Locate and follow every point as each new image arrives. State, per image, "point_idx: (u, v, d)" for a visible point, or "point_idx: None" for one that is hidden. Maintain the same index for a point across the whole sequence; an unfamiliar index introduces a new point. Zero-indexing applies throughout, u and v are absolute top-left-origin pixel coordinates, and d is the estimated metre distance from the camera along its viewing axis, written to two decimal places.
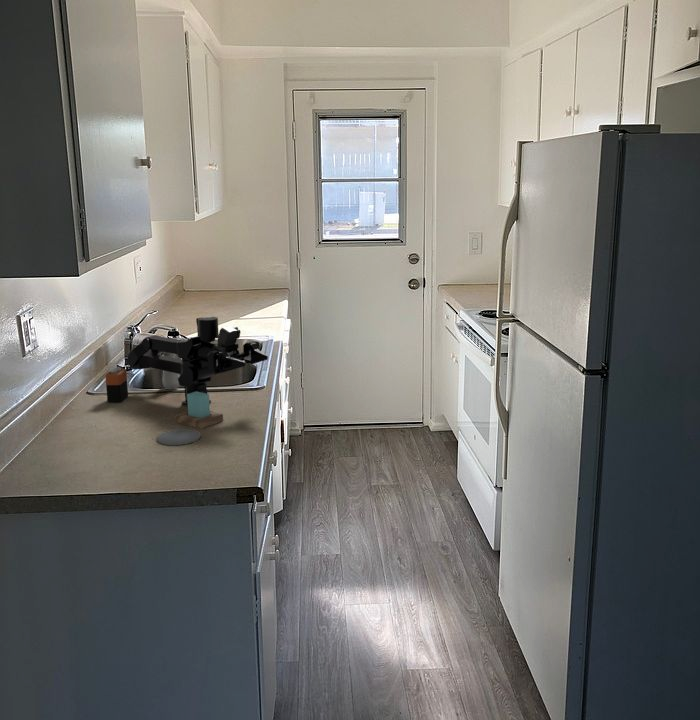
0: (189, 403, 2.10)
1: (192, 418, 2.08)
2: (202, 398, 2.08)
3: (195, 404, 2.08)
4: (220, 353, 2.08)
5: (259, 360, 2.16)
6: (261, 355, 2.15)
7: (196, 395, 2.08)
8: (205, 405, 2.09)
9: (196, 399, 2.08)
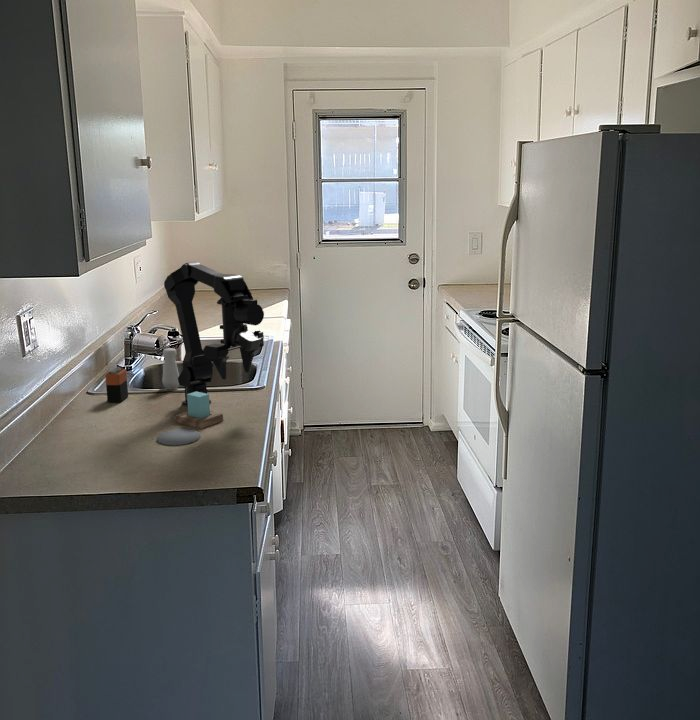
0: (189, 403, 2.10)
1: (192, 418, 2.08)
2: (202, 398, 2.08)
3: (195, 404, 2.08)
4: (222, 359, 2.04)
5: (243, 361, 2.16)
6: (247, 365, 2.15)
7: (196, 395, 2.08)
8: (205, 405, 2.09)
9: (196, 399, 2.08)
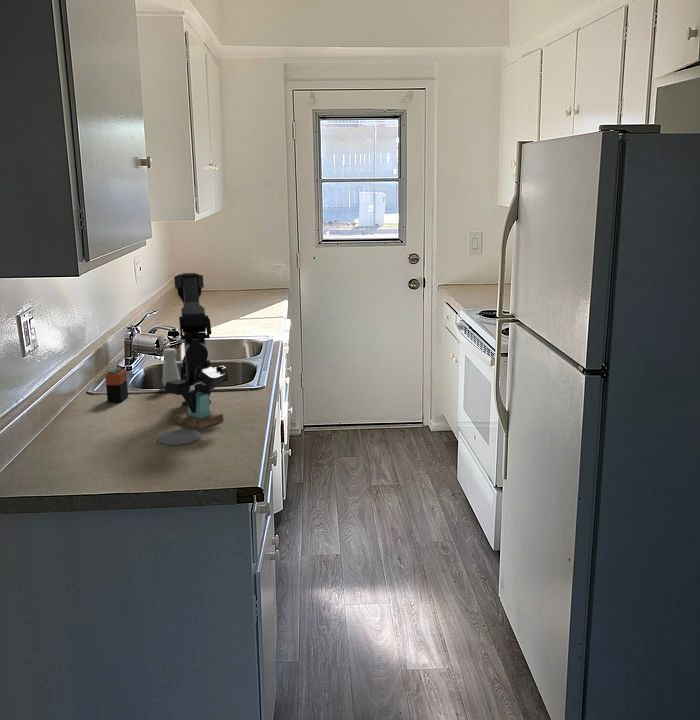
0: None
1: (192, 418, 2.08)
2: (202, 397, 2.08)
3: None
4: (191, 393, 2.04)
5: None
6: None
7: (196, 395, 2.08)
8: (205, 405, 2.09)
9: (196, 399, 2.08)
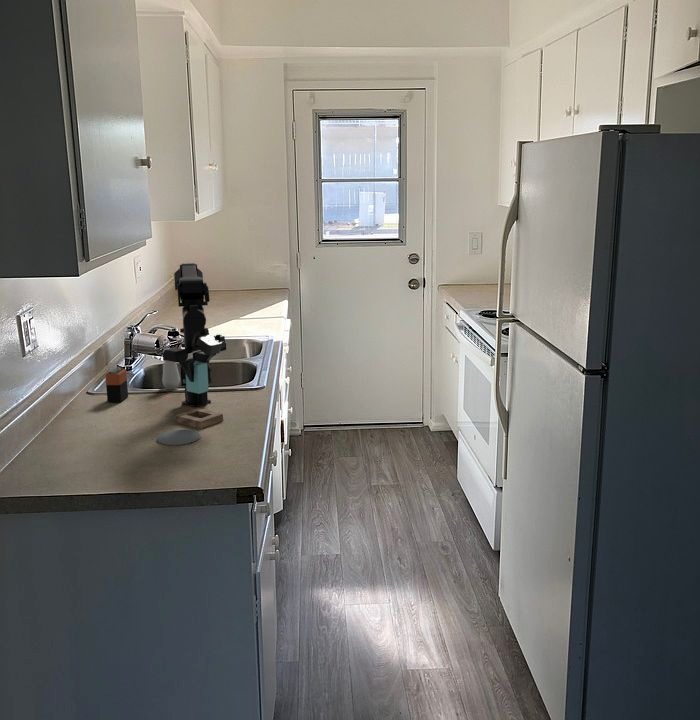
0: None
1: (192, 418, 2.08)
2: (200, 366, 2.06)
3: None
4: (189, 361, 2.02)
5: None
6: None
7: (194, 364, 2.06)
8: (203, 374, 2.07)
9: (194, 368, 2.06)
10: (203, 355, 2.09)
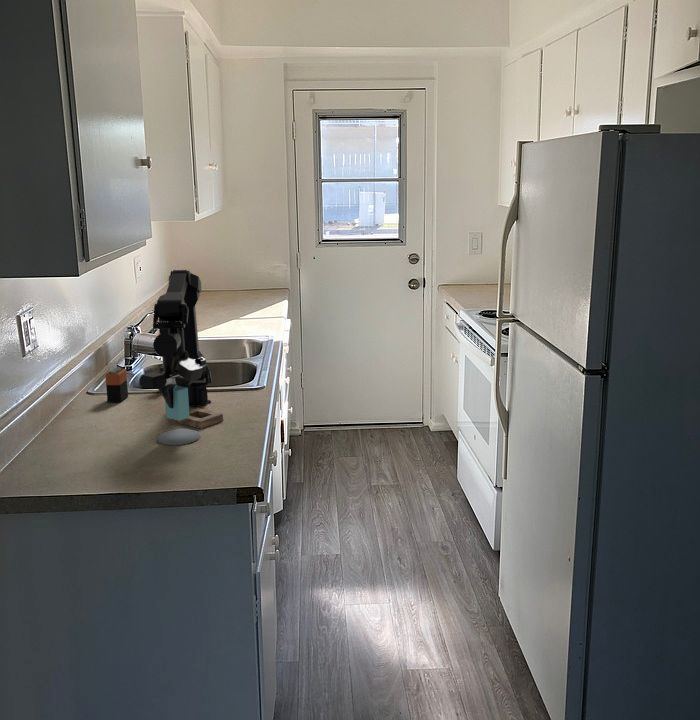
0: None
1: (192, 418, 2.08)
2: (180, 391, 1.93)
3: (173, 398, 1.93)
4: (168, 387, 1.89)
5: None
6: None
7: (174, 389, 1.93)
8: (183, 399, 1.94)
9: (173, 393, 1.93)
10: (183, 379, 1.96)
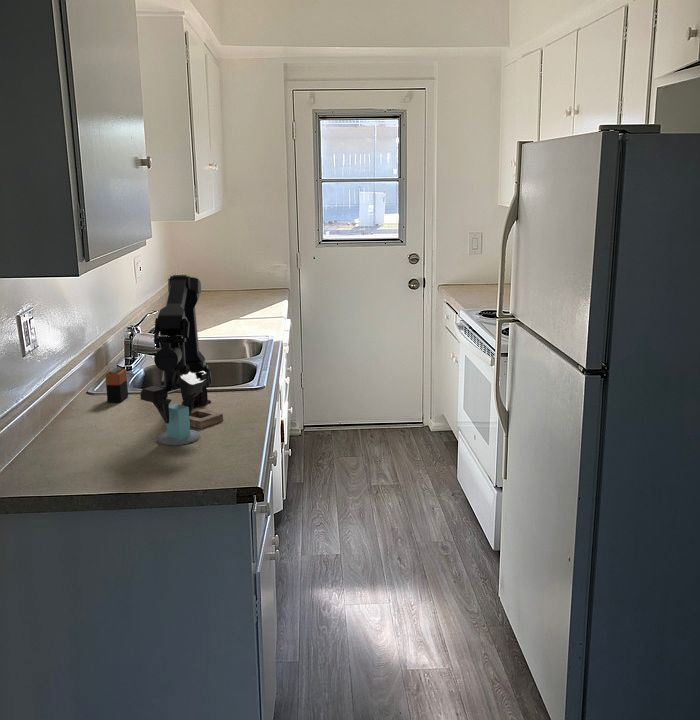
0: None
1: (192, 418, 2.08)
2: (181, 411, 1.94)
3: (174, 418, 1.95)
4: (164, 403, 1.89)
5: (184, 404, 1.99)
6: None
7: (175, 408, 1.95)
8: (184, 419, 1.95)
9: (174, 412, 1.94)
10: None
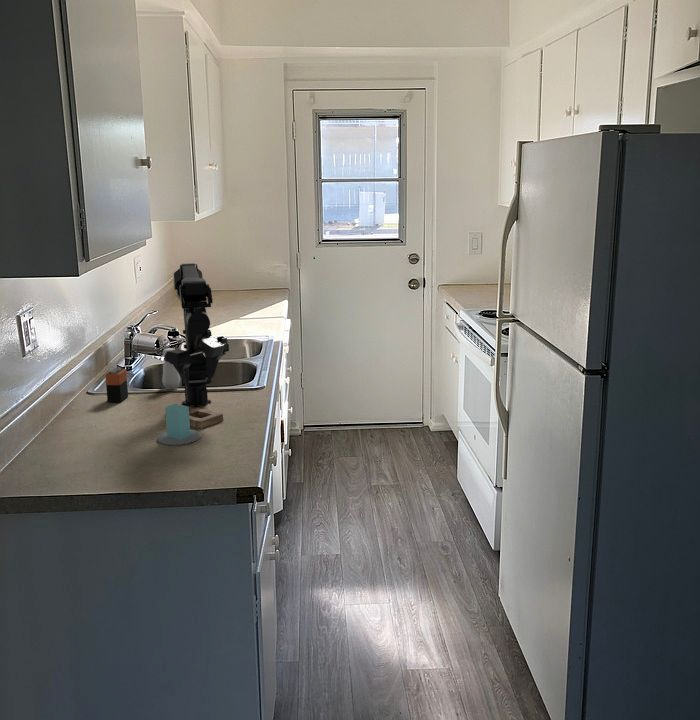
0: (167, 416, 1.96)
1: (192, 418, 2.08)
2: (181, 411, 1.94)
3: (174, 418, 1.95)
4: (184, 365, 2.00)
5: (208, 366, 2.12)
6: (212, 370, 2.12)
7: (175, 408, 1.95)
8: (184, 419, 1.95)
9: (174, 412, 1.94)
10: None
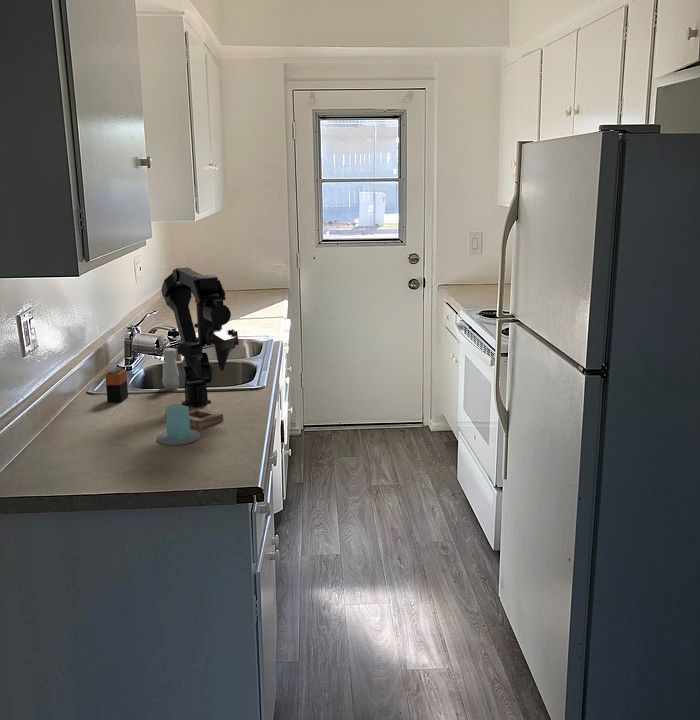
0: (167, 416, 1.96)
1: (192, 418, 2.08)
2: (181, 411, 1.94)
3: (174, 418, 1.95)
4: (196, 357, 2.06)
5: (218, 359, 2.19)
6: (222, 363, 2.18)
7: (175, 408, 1.95)
8: (184, 419, 1.95)
9: (174, 412, 1.94)
10: None
